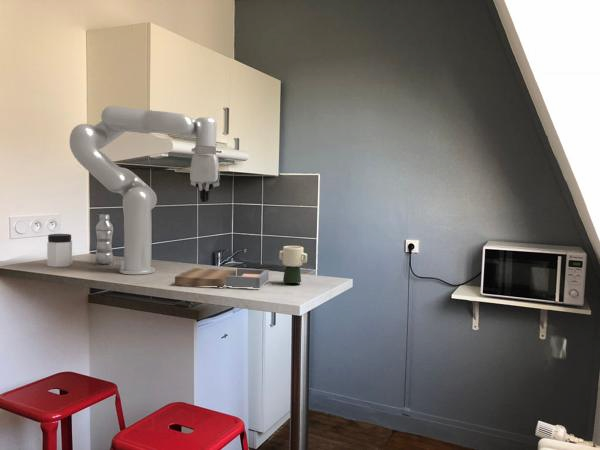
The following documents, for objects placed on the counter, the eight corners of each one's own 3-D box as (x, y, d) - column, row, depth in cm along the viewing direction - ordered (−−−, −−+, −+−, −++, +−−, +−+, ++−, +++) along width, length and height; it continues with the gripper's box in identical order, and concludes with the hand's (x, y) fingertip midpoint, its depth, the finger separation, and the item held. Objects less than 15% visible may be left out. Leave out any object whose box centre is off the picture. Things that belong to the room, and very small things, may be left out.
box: (225, 288, 164) (226, 276, 163) (237, 279, 179) (237, 268, 179) (259, 290, 162) (259, 277, 162) (268, 281, 178) (268, 269, 178)
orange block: (258, 277, 167) (258, 288, 167) (261, 274, 173) (260, 284, 173) (240, 276, 167) (240, 287, 167) (244, 273, 173) (243, 283, 173)
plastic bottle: (97, 262, 205) (97, 213, 203) (114, 262, 206) (115, 214, 204) (93, 265, 198) (93, 214, 197) (110, 265, 199) (111, 215, 198)
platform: (174, 285, 164) (175, 276, 164) (192, 276, 182) (192, 268, 182) (222, 288, 163) (222, 279, 162) (235, 278, 181) (236, 270, 180)
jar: (52, 263, 199) (52, 233, 198) (73, 263, 201) (73, 233, 200) (44, 267, 190) (44, 235, 190) (67, 267, 192) (67, 236, 191)
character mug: (310, 284, 175) (312, 247, 174) (301, 287, 169) (302, 249, 168) (283, 280, 180) (284, 244, 179) (273, 283, 174) (274, 246, 173)
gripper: (182, 150, 182) (181, 201, 183) (222, 151, 180) (221, 202, 181) (189, 152, 189) (188, 200, 191) (228, 153, 187) (226, 202, 189)
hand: (204, 201), depth 186 cm, fingers closed
